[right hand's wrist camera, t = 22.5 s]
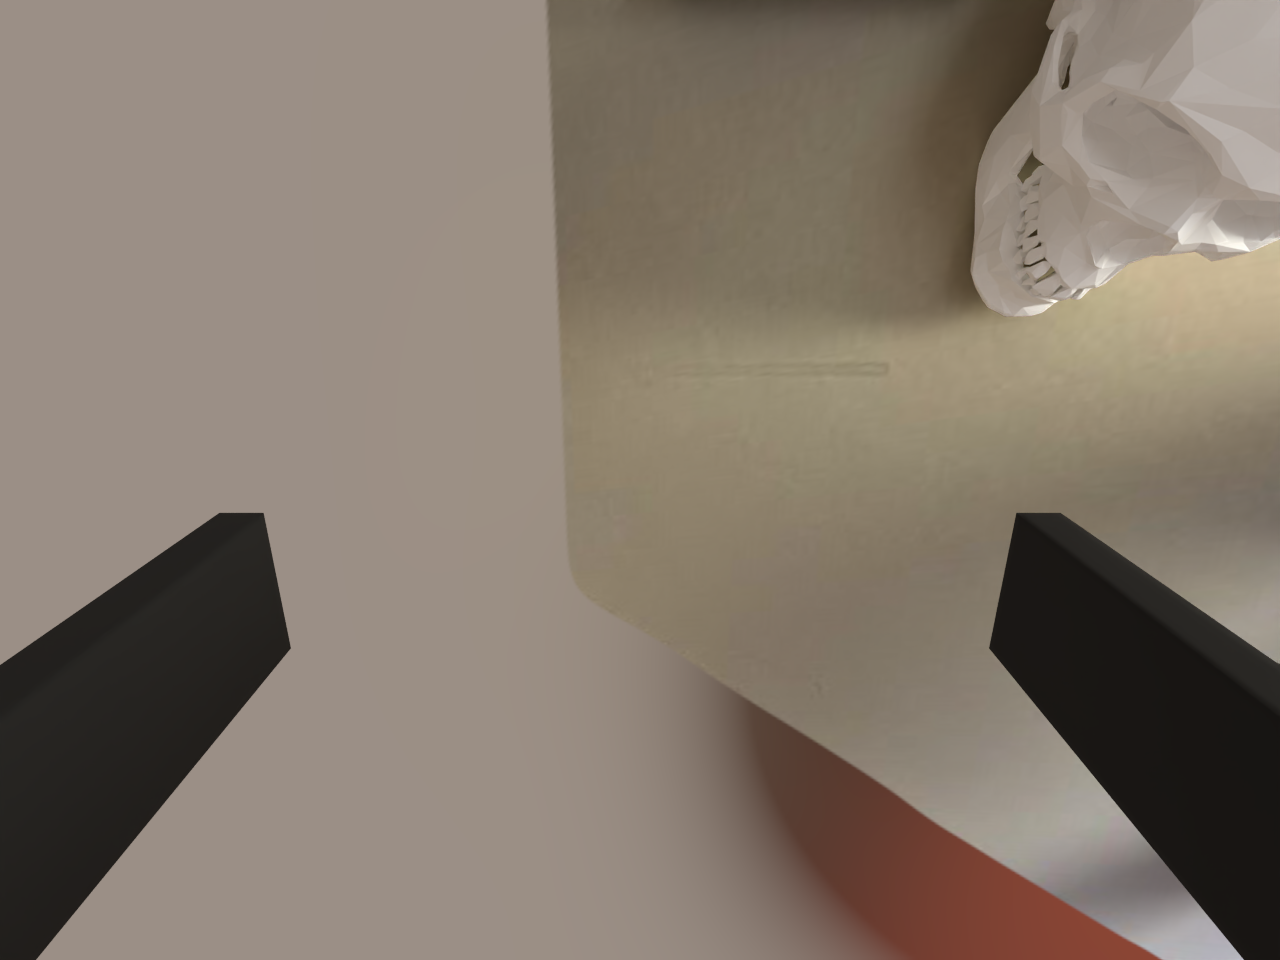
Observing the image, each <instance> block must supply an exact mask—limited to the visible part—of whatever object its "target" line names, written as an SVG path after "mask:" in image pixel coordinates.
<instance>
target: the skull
mask: <svg viewBox="0 0 1280 960" xmlns="http://www.w3.org/2000/svg"><path fill="white" fill-rule="evenodd" d="M1046 25H1047V27H1048V28H1049V30H1054V31H1053V33H1052V34H1051V36H1050V39H1049V42H1048V45H1047V48H1046V51H1045V54H1044V57H1043V59H1042V62H1041V65H1040V68H1039V71H1038V74H1037V75H1036V76H1035V77H1034V79H1033V80H1032V81H1031V82H1030V84H1029V85H1028V86H1027V88H1026V89H1025V90H1024V91H1023V93H1022V94H1021V95H1020V96H1019V98H1018V99H1017V100H1016V102H1015V103H1014V104H1013V105H1012V107H1011V108H1010V109H1009V111H1008V112H1007V113H1006V114H1005V116H1004V117H1003V118H1002V119H1001V121H1000V122H999V123H998V125H997V126H996V127H995V128H994V130H993V131H992V133H991V135H990V137H989V139H988V141H987V144H986V147H985V149H984V152H983V155H982V157H981V160H980V163H979V167H978V174H977V181H976V188H975V235H974V244H973V252H972V261H971V270H970V271H971V275H972V278H973V282H974V285H975V288H976V289H977V291H978V293H979V295H980V297H981V299H982V300H983V302H984V303H985V304H986V306H987V307H988V308H990V309H992V310H994V311H996V312H998V313H1000V314H1002V315H1004V316H1005V317H1007V316H1032V315H1036V314H1040V313H1042V312H1044V311H1045V310H1046V309H1048V308H1049V307H1050V306H1052V305H1053V304H1054V303H1055V302H1057V301H1062V300H1066V299H1069V298H1071V299H1080V298H1082V297H1083V296H1084V295H1085V294H1086V293H1087V292H1088V291H1089V290H1090V289H1092V288H1097V287H1099V286H1101V285H1103V284H1106V283H1107V282H1108V281H1109V280H1110V279H1111V278H1113V277H1114V276H1115V275H1116V274H1117V273H1118V272H1120V271H1121V270H1122V269H1123V268H1124V267H1125V266H1126V265H1128V264H1130V263H1133V262H1136V261H1139V260H1142V259H1145V258H1147V257H1150V256H1165V255H1173V254H1181V253H1188V252H1197V253H1199V254H1201V255H1202V256H1204V257H1206V258H1207V259H1209V260H1210V261H1216V260H1221V259H1227V258H1230V257H1234V256H1238V255H1241V254H1245V253H1248V252H1252V251H1254V250H1256V249H1258V248H1261V247H1263V246H1265V245H1268V244H1270V243H1272V242H1275V241H1277V240H1279V239H1280V0H1055V1H1054V3H1053V6H1052V9H1051V11H1050V14H1049V16H1048V19H1047V22H1046ZM1070 64H1071V66H1070V71H1069V75H1070V82H1069V86H1068V87H1067V88H1066V89H1064V90H1062V89H1061V88H1062V86H1063V83H1064V81H1065V77H1066V73H1067V68H1068V66H1069V65H1070ZM1032 151H1033V154H1034V157H1035V158H1037V159H1038V160H1039V161H1040V162H1042V163H1043V164H1044V165H1042V166H1038V167H1037V168H1036V169H1035V170H1034V172H1033V173H1032V176H1030V177H1029V178H1027V179H1026V180H1025V181H1024V183H1022V182H1021V180H1020V179H1019V178H1018V176H1017V175H1018V174H1019V172H1020V170H1021V169H1022V167H1023V166H1024V164H1025V162H1026V161H1027V159H1028V158H1029V156H1030V155H1031V153H1032ZM1037 184H1039V185H1038V186H1037ZM1025 210H1027V211H1026V212H1025ZM1024 212H1025V215H1024ZM1035 230H1037V233H1038V235H1036V236H1033V237H1029V236H1030V234H1032V233H1033V232H1034V231H1035ZM1040 242H1041V246H1040V247H1037V248H1034V247H1036V246H1037V245H1038V244H1039V243H1040ZM1021 245H1023V247H1022V249H1021ZM1033 248H1034V249H1033ZM1044 257H1045V258H1046V260H1047V261H1042V262H1040V263H1038V264H1036V265H1034V266H1032V267H1024V266H1023V262H1024V261H1025V262H1024V264H1027V265H1030V264H1033V263H1035V262H1037V261H1039V260H1041V259H1044ZM1051 266H1052V267H1053V268H1054V270H1055V271H1054V272H1052V273H1051V274H1049V275H1048V276H1046V277H1044V278H1042V279H1041V280H1039V281H1038V279H1039V278H1040V277H1041V276H1043V275H1044V274H1045V273H1047V271H1048V270H1049V268H1050V267H1051ZM1028 275H1029V276H1028Z"/></svg>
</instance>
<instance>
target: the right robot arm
mask: <svg viewBox="0 0 1280 960" xmlns="http://www.w3.org/2000/svg"><path fill="white" fill-rule="evenodd" d="M290 649H291V647H290V642H289V637H288V632H287V627H286V622H285V617H284V612H283V607H282V602H281V597H280V593H279V587H278V583H277V577H276V573H275V568H274V563H273V558H272V553H271V548H270V543H269V538H268V533H267V528H266V523H265V518H264V513H219V514H217V515H216V516H214V517H213V518H212V519H210V520H209V521H207V522H206V523H204V524H203V525H202V526H200V527H199V528H197V529H196V530H194V531H193V532H191V533H190V534H189V535H187V536H186V537H184V538H183V539H181V540H180V541H178V542H177V543H176V544H174V545H173V546H171V547H170V548H168V549H167V550H165V551H164V552H163V553H161V554H160V555H158V556H157V557H155V558H154V559H152V560H151V561H150V562H148V563H147V564H145V565H144V566H142V567H141V568H140V569H138V570H137V571H135V572H134V573H132V574H131V575H129V576H128V577H127V578H125V579H124V580H122V581H121V582H119V583H118V584H116V585H115V586H114V587H112V588H111V589H109V590H108V591H106V592H105V593H103V594H102V595H101V596H99V597H98V598H96V599H95V600H93V601H92V602H90V603H89V604H88V605H86V606H85V607H83V608H82V609H80V610H79V611H78V612H76V613H75V614H73V615H72V616H70V617H69V618H67V619H66V620H65V621H63V622H62V623H60V624H59V625H57V626H56V627H54V628H53V629H52V630H50V631H49V632H47V633H46V634H44V635H43V636H42V637H40V638H39V639H37V640H36V641H34V642H33V643H31V644H30V645H29V646H27V647H26V648H24V649H23V650H21V651H20V652H18V653H17V654H16V655H14V656H13V657H11V658H10V659H8V660H7V661H6V662H4V663H3V664H1V665H0V960H36V959H37V958H38V957H39V955H40V954H41V953H42V952H43V951H44V949H45V948H46V947H47V946H48V944H49V943H50V942H51V941H52V939H53V938H54V937H55V936H56V935H57V933H58V932H59V931H60V930H61V929H62V927H63V926H64V925H65V924H66V922H67V921H68V920H69V919H70V918H71V916H72V915H73V914H74V913H75V911H76V910H77V909H78V908H79V906H80V905H81V904H82V903H83V902H84V900H85V899H86V898H87V897H88V895H89V894H90V893H91V892H92V891H93V889H94V888H95V887H96V886H97V884H98V883H99V882H100V881H101V880H102V878H103V877H104V876H105V875H106V873H107V872H108V871H109V870H110V869H111V867H112V866H113V865H114V864H115V862H116V861H117V860H118V859H119V858H120V856H121V855H122V854H123V853H124V851H125V850H126V849H127V848H128V847H129V845H130V844H131V843H132V842H133V840H134V839H135V838H136V837H137V836H138V834H139V833H140V832H141V831H142V829H143V828H144V827H145V826H146V825H147V823H148V822H149V821H150V820H151V818H152V817H153V816H154V815H155V814H156V812H157V811H158V810H159V809H160V807H161V806H162V805H163V804H164V803H165V801H166V800H167V799H168V798H169V796H170V795H171V794H172V793H173V792H174V790H175V789H176V788H177V787H178V785H179V784H180V783H181V782H182V781H183V779H184V778H185V777H186V776H187V774H188V773H189V772H190V771H191V770H192V768H193V767H194V766H195V765H196V763H197V762H198V761H199V760H200V759H201V757H202V756H203V755H204V754H205V752H206V751H207V750H208V749H209V748H210V746H211V745H212V744H213V743H214V741H215V740H216V739H217V738H218V737H219V735H220V734H221V733H222V732H223V730H224V729H225V728H226V727H227V726H228V724H229V723H230V722H231V721H232V719H233V718H234V717H235V716H236V715H237V713H238V712H239V711H240V710H241V708H242V707H243V706H244V705H245V704H246V702H247V701H248V700H249V699H250V697H251V696H252V695H253V694H254V693H255V691H256V690H257V689H258V688H259V686H260V685H261V684H262V683H263V682H264V680H265V679H266V678H267V677H268V675H269V674H270V673H271V672H272V671H273V669H274V668H275V667H276V666H277V664H278V663H279V662H280V661H281V660H282V658H283V657H284V656H285V655H286V653H287V652H288V651H289V650H290ZM989 649H990V650H991V651H992V652H993V653H994V655H995V656H996V657H997V658H998V660H999V661H1000V662H1001V663H1002V664H1003V666H1004V667H1005V668H1006V669H1007V671H1008V672H1009V673H1010V674H1011V675H1012V677H1013V678H1014V679H1015V680H1016V682H1017V683H1018V684H1019V685H1020V686H1021V688H1022V689H1023V690H1024V691H1025V693H1026V694H1027V695H1028V696H1029V697H1030V699H1031V700H1032V701H1033V702H1034V704H1035V705H1036V706H1037V707H1038V708H1039V710H1040V711H1041V712H1042V713H1043V715H1044V716H1045V717H1046V718H1047V719H1048V721H1049V722H1050V723H1051V724H1052V726H1053V727H1054V728H1055V729H1056V730H1057V732H1058V733H1059V734H1060V735H1061V737H1062V738H1063V739H1064V740H1065V741H1066V743H1067V744H1068V745H1069V746H1070V748H1071V749H1072V750H1073V751H1074V752H1075V754H1076V755H1077V756H1078V757H1079V759H1080V760H1081V761H1082V762H1083V763H1084V765H1085V766H1086V767H1087V768H1088V770H1089V771H1090V772H1091V773H1092V774H1093V776H1094V777H1095V778H1096V779H1097V781H1098V782H1099V783H1100V784H1101V785H1102V787H1103V788H1104V789H1105V790H1106V792H1107V793H1108V794H1109V795H1110V796H1111V798H1112V799H1113V800H1114V801H1115V803H1116V804H1117V805H1118V806H1119V807H1120V809H1121V810H1122V811H1123V812H1124V814H1125V815H1126V816H1127V817H1128V818H1129V820H1130V821H1131V822H1132V823H1133V825H1134V826H1135V827H1136V828H1137V829H1138V831H1139V832H1140V833H1141V834H1142V836H1143V837H1144V838H1145V839H1146V840H1147V842H1148V843H1149V844H1150V845H1151V847H1152V848H1153V849H1154V850H1155V851H1156V853H1157V854H1158V855H1159V856H1160V858H1161V859H1162V860H1163V861H1164V862H1165V864H1166V865H1167V866H1168V867H1169V869H1170V870H1171V871H1172V872H1173V873H1174V875H1175V876H1176V877H1177V878H1178V880H1179V881H1180V882H1181V883H1182V884H1183V886H1184V887H1185V888H1186V889H1187V891H1188V892H1189V893H1190V894H1191V895H1192V897H1193V898H1194V899H1195V900H1196V902H1197V903H1198V904H1199V905H1200V906H1201V908H1202V909H1203V910H1204V911H1205V913H1206V914H1207V915H1208V916H1209V918H1210V919H1211V920H1212V921H1213V922H1214V924H1215V925H1216V926H1217V927H1218V929H1219V930H1220V931H1221V932H1222V933H1223V935H1224V936H1225V937H1226V938H1227V940H1228V941H1229V942H1230V943H1231V944H1232V946H1233V947H1234V948H1235V949H1236V951H1237V952H1238V953H1239V954H1240V955H1241V957H1242V958H1243V959H1244V960H1280V664H1279V663H1276V662H1275V661H1273V660H1272V659H1270V658H1269V657H1267V656H1266V655H1264V654H1263V653H1262V652H1260V651H1259V650H1257V649H1256V648H1254V647H1253V646H1252V645H1250V644H1249V643H1247V642H1246V641H1244V640H1243V639H1241V638H1240V637H1239V636H1237V635H1236V634H1234V633H1233V632H1231V631H1230V630H1228V629H1227V628H1226V627H1224V626H1223V625H1221V624H1220V623H1218V622H1217V621H1215V620H1214V619H1213V618H1211V617H1210V616H1208V615H1207V614H1205V613H1204V612H1202V611H1201V610H1200V609H1198V608H1197V607H1195V606H1194V605H1192V604H1191V603H1190V602H1188V601H1187V600H1185V599H1184V598H1182V597H1181V596H1179V595H1178V594H1177V593H1175V592H1174V591H1172V590H1171V589H1169V588H1168V587H1166V586H1165V585H1164V584H1162V583H1161V582H1159V581H1158V580H1156V579H1155V578H1153V577H1152V576H1151V575H1149V574H1148V573H1146V572H1145V571H1143V570H1142V569H1140V568H1139V567H1138V566H1136V565H1135V564H1133V563H1132V562H1130V561H1129V560H1128V559H1126V558H1125V557H1123V556H1122V555H1120V554H1119V553H1117V552H1116V551H1115V550H1113V549H1112V548H1110V547H1109V546H1107V545H1106V544H1104V543H1103V542H1102V541H1100V540H1099V539H1097V538H1096V537H1094V536H1093V535H1091V534H1090V533H1089V532H1087V531H1086V530H1084V529H1083V528H1081V527H1080V526H1078V525H1077V524H1076V523H1074V522H1073V521H1071V520H1070V519H1068V518H1067V517H1066V516H1064V515H1063V514H1061V513H1016V518H1015V523H1014V528H1013V533H1012V538H1011V543H1010V548H1009V553H1008V558H1007V563H1006V568H1005V573H1004V577H1003V582H1002V587H1001V592H1000V597H999V602H998V607H997V612H996V617H995V622H994V627H993V632H992V637H991V642H990V647H989Z"/></svg>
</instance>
